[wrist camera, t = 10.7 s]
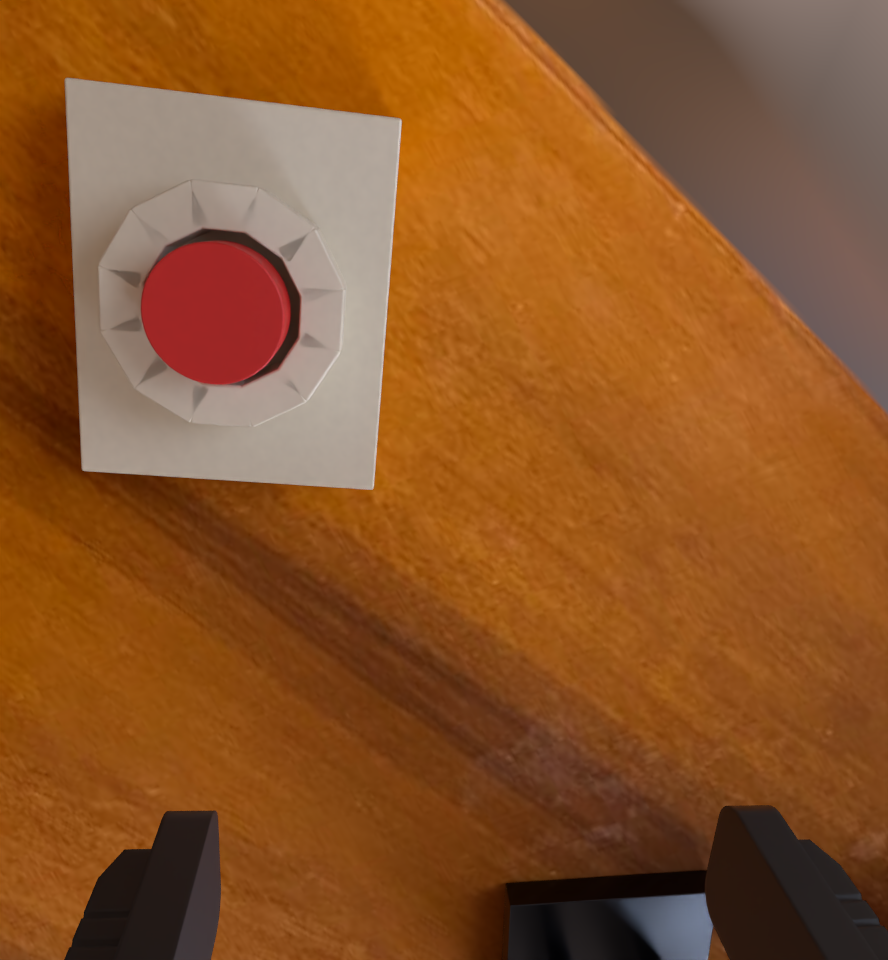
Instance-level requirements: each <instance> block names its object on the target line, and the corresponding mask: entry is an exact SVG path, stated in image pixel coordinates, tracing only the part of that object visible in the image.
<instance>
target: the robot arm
mask: <svg viewBox="0 0 888 960" xmlns="http://www.w3.org/2000/svg"><path fill="white" fill-rule="evenodd" d="M705 897H706V903H707V908H708V912H709V915H710V918H711V921H712V923H713V925H714V927H715V930H716V932H717V934H718V936H719V938H720V940H721V942H722V944H723V946H724V948H725V951H726V953H727V955H728V957H729V959H730V960H888V931H887V930H886V928H885V927H884V926H881V925H880V924H879V919H878V917H877V916H876V914H875V913H874V912H873V910H872V909H871V907H870V906H869V905H868V903H867V902H866V901H863V900H862V898H861V893H860V892H859V891H858V889H857V888H856V887H855V885H854V884H853V882H852V881H851V880H850V878H849V877H848V875H847V874H846V873H845V871H844V870H843V868H842V867H841V866H840V864H838V863H837V862H836V861H835V860H834V859H832V858H831V857H830V856H829V855H828V854H826V853H825V852H824V851H823V850H821V849H820V848H819V847H818V846H817V845H815V844H814V843H813V842H812V841H811V840H798V839H797V838H796V836H795V835H794V833H793V832H792V830H791V829H790V827H789V826H788V824H787V823H786V821H785V820H784V818H783V817H782V815H781V814H780V813H779V811H778V810H777V809H776V808H774V807H773V806H770V805H755V806H725V807H723V808H722V810H721V812H720V814H719V818H718V823H717V827H716V832H715V836H714V841H713V845H712V850H711V855H710V859H709V864H708V868H707V873H706V878H705ZM220 898H221V880H220V855H219V830H218V815H217V812H216V811H167V812H166V813H165V814H164V816H163V818H162V820H161V823H160V826H159V829H158V832H157V835H156V838H155V840H154V843H153V846H152V849H130V850H124V851H123V852H122V853H121V854H120V855H119V856H118V857H117V858H116V859H115V860H114V862H113V863H112V864H111V865H110V866H109V867H108V868H107V869H106V870H105V871H104V872H103V874H102V875H101V876H100V877H99V878H98V880H97V882H96V884H95V887H94V889H93V892H92V894H91V897H90V899H89V901H88V904H87V906H86V909H85V911H84V917H83V919H81V921H80V923H79V926H78V928H77V930H76V933H75V935H74V938H73V940H72V941H73V942H72V946H71V947H69V950H68V952H67V955H66V957H65V959H64V960H211V956H212V951H213V947H214V942H215V937H216V932H217V927H218V920H219V911H220Z"/></svg>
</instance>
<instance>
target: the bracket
mask: <svg viewBox="0 0 888 960" xmlns="http://www.w3.org/2000/svg"><path fill="white" fill-rule="evenodd" d="M706 873H707V870H706V871H690V872H675V873H659V874H644V875H628V876H613V877H598V878H582V879H567V880H551V881H536V882H520V883H506V886H505V907H504V928H503V949H502V960H708V956H709V950H710V943H711V937H712V930H713V923H712V921H711V918H710V915H709V912H708V908H707V903H706V897H705V878H706Z"/></svg>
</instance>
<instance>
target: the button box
mask: <svg viewBox="0 0 888 960" xmlns="http://www.w3.org/2000/svg"><path fill="white" fill-rule="evenodd" d="M65 100H66V123H67V146H68V169H69V192H70V215H71V238H72V261H73V284H74V307H75V330H76V353H77V375H78V398H79V421H80V444H81V467H82V470H83V471H91V472H106V473H121V474H137V475H152V476H168V477H183V478H198V479H214V480H229V481H244V482H260V483H275V484H291V485H306V486H321V487H337V488H352V489H368V490H372V489H373V488H374V478H375V465H376V452H377V439H378V426H379V413H380V400H381V386H382V373H383V360H384V347H385V334H386V321H387V308H388V295H389V282H390V269H391V256H392V243H393V230H394V217H395V204H396V191H397V178H398V164H399V151H400V138H401V125H402V121H401V119H400V118H394V117H386V116H378V115H370V114H362V113H353V112H345V111H337V110H329V109H321V108H312V107H304V106H296V105H288V104H280V103H272V102H263V101H255V100H247V99H239V98H231V97H222V96H214V95H206V94H198V93H190V92H182V91H173V90H165V89H157V88H149V87H141V86H132V85H124V84H116V83H108V82H100V81H92V80H83V79H75V78H65ZM215 240H222V241H231V242H236V243H239V244H242V245H245V246H247V247H249V248H252V249H253V250H255V251H257V252H258V253H260V254H261V255H262V256H264V257H265V258H266V259H267V260H268V261H269V262H270V263H271V264H272V265H273V266H274V267H275V268H276V270H277V271H278V272H279V274H280V276H281V277H282V279H283V281H284V283H285V285H286V288H287V291H288V294H289V298H290V304H291V320H290V326H289V330H288V333H287V335H286V338H285V340H284V342H283V344H282V345H281V347H280V348H279V350H278V351H277V353H276V354H275V355H274V357H273V358H272V359H271V361H270V362H269V363H268V364H267V365H266V366H265V367H264V368H263V369H262V370H260V371H259V372H258V373H256V374H255V375H253V376H251V377H249V378H247V379H245V380H242V381H240V382H236V383H232V384H223V385H215V384H206V383H201V382H198V381H194V380H192V379H189V378H187V377H185V376H183V375H181V374H179V373H178V372H176V371H175V370H173V369H172V368H171V367H169V366H168V365H167V364H166V363H165V362H164V361H163V360H162V359H161V358H160V357H159V356H158V354H157V353H156V352H155V350H154V349H153V347H152V346H151V344H150V342H149V340H148V338H147V336H146V333H145V330H144V327H143V323H142V318H141V297H142V292H143V288H144V285H145V282H146V280H147V278H148V276H149V274H150V272H151V271H152V269H153V268H154V266H155V265H156V264H157V263H158V262H159V261H160V260H161V259H162V258H163V257H164V256H166V255H167V254H168V253H170V252H171V251H173V250H175V249H177V248H179V247H181V246H184V245H187V244H191V243H195V242H204V241H215Z"/></svg>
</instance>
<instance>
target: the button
mask: <svg viewBox="0 0 888 960" xmlns="http://www.w3.org/2000/svg"><path fill="white" fill-rule="evenodd" d="M141 318H142V323H143V327H144V330H145V333H146V336H147V338H148V340H149V342H150V344H151V346H152V347H153V349H154V350H155V352H156V353H157V354H158V356H159V357H160V358H161V359H162V360H163V361H164V362H165V363H166V364H167V365H168V366H169V367H171V368H172V369H173V370H175V371H176V372H178V373H179V374H181V375H183V376H185V377H187V378H189V379H192V380H194V381H198V382H201V383H206V384H215V385H223V384H232V383H236V382H240V381H242V380H245V379H247V378H249V377H251V376H253V375H255V374H256V373H258V372H259V371H260V370H262V369H263V368H264V367H265V366H266V365H267V364H268V363H269V362H270V361H271V359H272V358H273V357H274V355H275V354H276V353H277V351H278V350H279V348H280V347H281V345H282V344H283V342H284V340H285V338H286V335H287V333H288V330H289V326H290V320H291V304H290V298H289V294H288V291H287V288H286V285H285V283H284V281H283V279H282V277H281V276H280V274H279V272H278V271H277V270H276V268H275V267H274V266H273V265H272V264H271V263H270V262H269V261H268V260H267V259H266V258H265V257H264V256H262V255H261V254H260V253H258V252H257V251H255V250H253V249H252V248H249V247H247V246H245V245H242V244H239V243H236V242H231V241H222V240H215V241H204V242H195V243H191V244H187V245H184V246H181V247H179V248H177V249H175V250H173V251H171V252H170V253H168V254H167V255H166V256H164V257H163V258H162V259H161V260H160V261H159V262H158V263H157V264H156V265H155V266H154V268H153V269H152V271H151V272H150V274H149V276H148V278H147V280H146V282H145V285H144V288H143V292H142V297H141Z"/></svg>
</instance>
